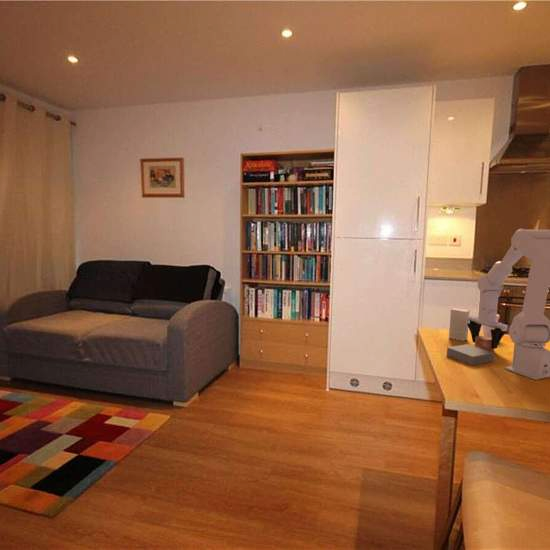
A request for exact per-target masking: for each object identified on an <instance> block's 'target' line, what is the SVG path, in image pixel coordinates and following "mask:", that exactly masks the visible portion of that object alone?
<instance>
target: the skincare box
mask: <svg viewBox="0 0 550 550" xmlns="http://www.w3.org/2000/svg"><path fill="white" fill-rule="evenodd" d="M468 316H470V310H469V309H462V308H456V307H454V308H451V309H450V319H449V331H448V339H449V338H452V339H451V340H455V339H456V340H457V341H460V340H461V342H466V341H467V340H468V336H469V335H468V334H469V327H468V326H467V324H468V323H470V322H468V321H467V318H468ZM456 340H455V341H456ZM465 340H466V341H465Z"/></svg>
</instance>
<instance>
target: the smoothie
mask: <svg viewBox="0 0 550 550" xmlns="http://www.w3.org/2000/svg"><path fill="white" fill-rule="evenodd" d="M500 317H501V316H500V314H498V313H497V316H496V321H497V322H499V319H500ZM491 329H495V328H492V327H488V326H484V325H482V336H487V337H490V338H492V335H491V331H490V330H491Z"/></svg>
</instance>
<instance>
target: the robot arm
mask: <svg viewBox="0 0 550 550" xmlns="http://www.w3.org/2000/svg"><path fill="white" fill-rule="evenodd" d="M510 239H511V240H510V242H511V243H510V244H511V245H510V247H509V249H508V251H506V254H505V255H504V256H503V258H502V260H501V261H496V262H495V263H494V264H493V266H492V267H491V268H490V269H489V271H488V273H486V274H484V275H480V276H479V278H478V279H477V288H478V290H479V291H480V294H479V304H478V306H479V307H478V314H477V315H478V317H477V316H473V315H471V316H470V315H469V316H468V318H467V321H468V322H469V323H468V324H467V326H468V331H469V332H470V334H471V341H472V343H474V344H475V337H477V336H480V331H481V328H482V327H483V325H484V326H488V327H492V328H495V329H491V330H490V331H491V335H492V343H491V348H492V349H494V350H495V349H497V348H498V346H499V343H500V342H501V340H502V338H503V337H504V335H505V334H506V333H507V331H508V335H509V339H511V341H512V343H514V346H513V356H512V363H511V365H510V366H506V367H505V369H506V370H508V371H510V372H513V373H516V374H517V375H518V374H519V375H522V376H524V377H527V378H529V379H532V380H542V379H546V378H550V350H549V349H548V348H545V347H546V345H547V344H548V343H549V342H550V320H549V318H547V317H546V316H545V315H544V314H545V309H546V303H547V299H548V298H547V297H548V293H549V288H550V229H524V228H519V229H517V230H516V231H515V232H514V234H513V235H512V237H511V238H510ZM523 256H524V257H525V258H528V260H529V261H530V267H529V273H528V275H527V283H526V288H525V292H524V293H525V295H524V299H523V306H522V310H521V312H519V313H518V314H516V315H515V316H514V317H513V318H512V323H511V324H510V326H509V325H508V324H505V323H502V322H499V321H498V322H497V321H496V316H497V314H498V306H499V305H498V304H499V298H500V297H501V293H502V291H503V289H504V282H505V281H506V280H507V279H508V278H509V276H510V275H511V274H512V273H513V268H512V267H513V266H515V264H516V263H517V262H518V261H519V260H520V259H521V258H522V257H523ZM508 327H509V328H508Z"/></svg>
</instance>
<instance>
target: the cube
mask: <svg viewBox="0 0 550 550" xmlns="http://www.w3.org/2000/svg"><path fill="white" fill-rule="evenodd" d="M491 343H492V338H490V337H487V336H483V335H479V336H477V337H475V343H474V346H475V347H478V348H481V349H484V350H487V351H490V352H493V351H495V349H492V348H491Z"/></svg>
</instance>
